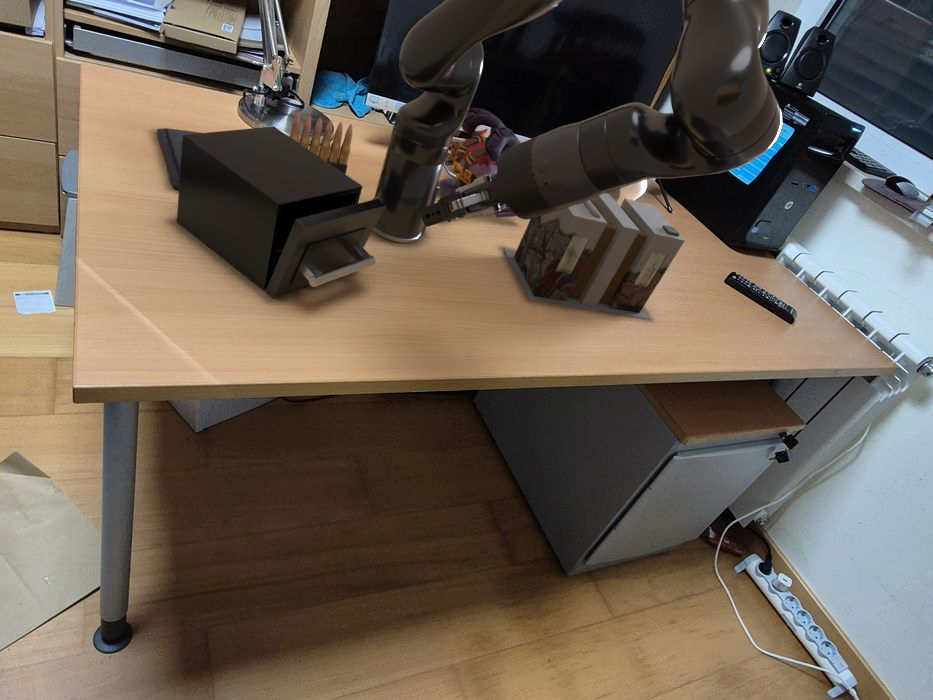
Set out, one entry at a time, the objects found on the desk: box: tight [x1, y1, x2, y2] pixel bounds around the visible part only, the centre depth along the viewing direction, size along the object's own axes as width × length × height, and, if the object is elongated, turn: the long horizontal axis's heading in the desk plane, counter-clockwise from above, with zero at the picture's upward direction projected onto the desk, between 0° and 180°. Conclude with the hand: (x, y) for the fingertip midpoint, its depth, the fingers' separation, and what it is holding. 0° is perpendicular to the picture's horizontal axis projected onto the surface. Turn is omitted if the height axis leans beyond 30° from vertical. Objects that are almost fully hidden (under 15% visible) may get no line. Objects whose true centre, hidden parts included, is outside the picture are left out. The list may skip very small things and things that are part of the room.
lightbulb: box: [616, 179, 648, 206], centre depth 147 cm, size 6×6×11 cm
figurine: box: [438, 107, 522, 218], centre depth 122 cm, size 20×14×17 cm
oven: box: [176, 126, 363, 292], centre depth 86 cm, size 18×15×13 cm
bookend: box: [503, 192, 686, 320], centre depth 109 cm, size 16×25×16 cm, turn 104°
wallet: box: [156, 127, 200, 191], centre depth 102 cm, size 20×2×15 cm
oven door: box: [265, 199, 385, 300], centre depth 82 cm, size 5×15×13 cm, turn 146°
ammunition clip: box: [288, 112, 353, 175], centre depth 105 cm, size 11×2×12 cm, turn 111°
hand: (426, 217), depth 72 cm, fingers closed
